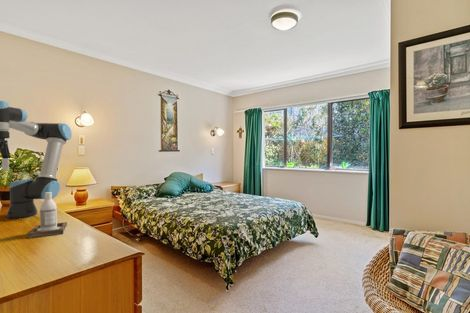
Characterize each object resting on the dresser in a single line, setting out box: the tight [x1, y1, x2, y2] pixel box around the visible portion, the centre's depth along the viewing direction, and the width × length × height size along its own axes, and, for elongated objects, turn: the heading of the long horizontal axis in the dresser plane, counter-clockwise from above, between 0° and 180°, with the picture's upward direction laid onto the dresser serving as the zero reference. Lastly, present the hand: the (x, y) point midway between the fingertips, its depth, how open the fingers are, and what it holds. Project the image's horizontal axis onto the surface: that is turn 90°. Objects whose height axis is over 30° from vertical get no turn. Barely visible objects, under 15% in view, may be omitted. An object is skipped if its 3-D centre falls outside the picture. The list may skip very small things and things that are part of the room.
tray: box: [28, 221, 68, 239], centre depth 131 cm, size 14×14×2 cm
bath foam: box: [39, 192, 58, 231], centre depth 130 cm, size 7×7×20 cm
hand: (0, 171), depth 130 cm, fingers open, 13 cm apart
